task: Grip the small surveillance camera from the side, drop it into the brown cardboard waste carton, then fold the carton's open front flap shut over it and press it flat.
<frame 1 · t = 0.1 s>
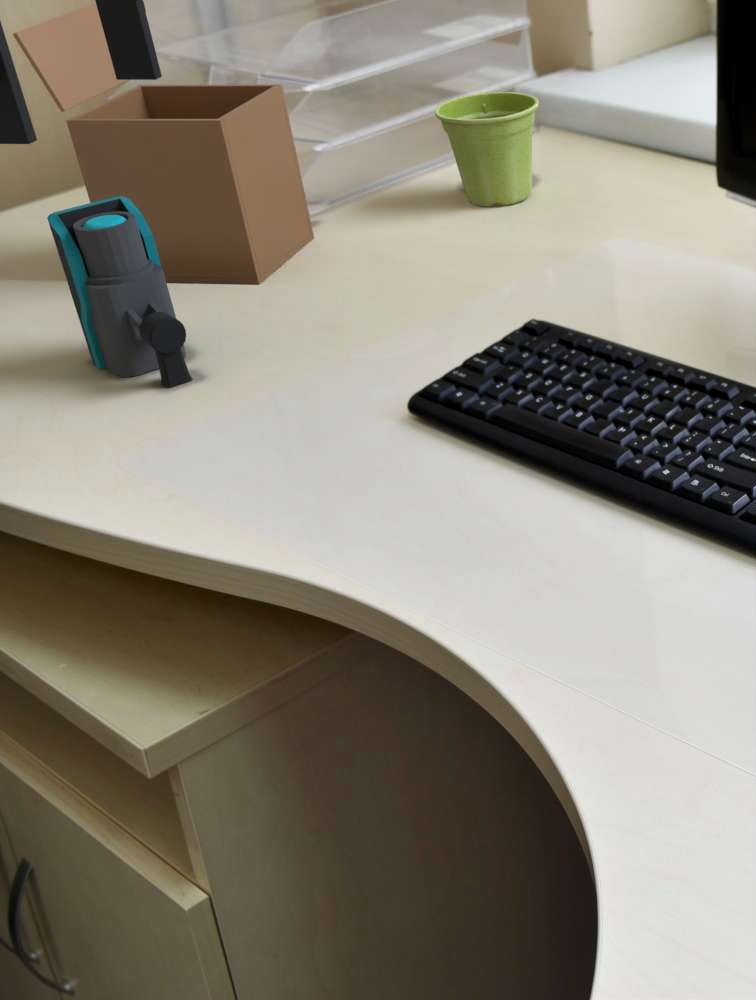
hand: (79, 108, 82), 21 cm above the table, tool pointing down, fingers open, 13 cm apart
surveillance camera: (162, 386, 97), on the table
waste carton: (217, 259, 118), on the table
plant pot: (499, 199, 130), on the table
flap: (78, 56, 111), point 17 cm above the table, hinge at 110.0°
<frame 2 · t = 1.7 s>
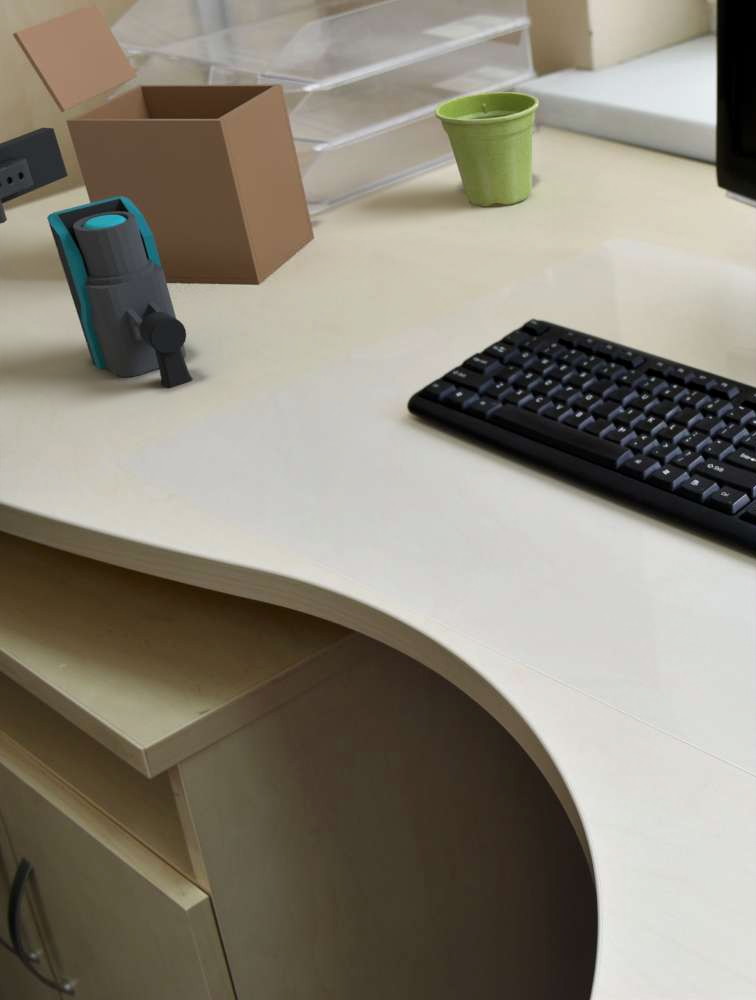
nothing on the table moved.
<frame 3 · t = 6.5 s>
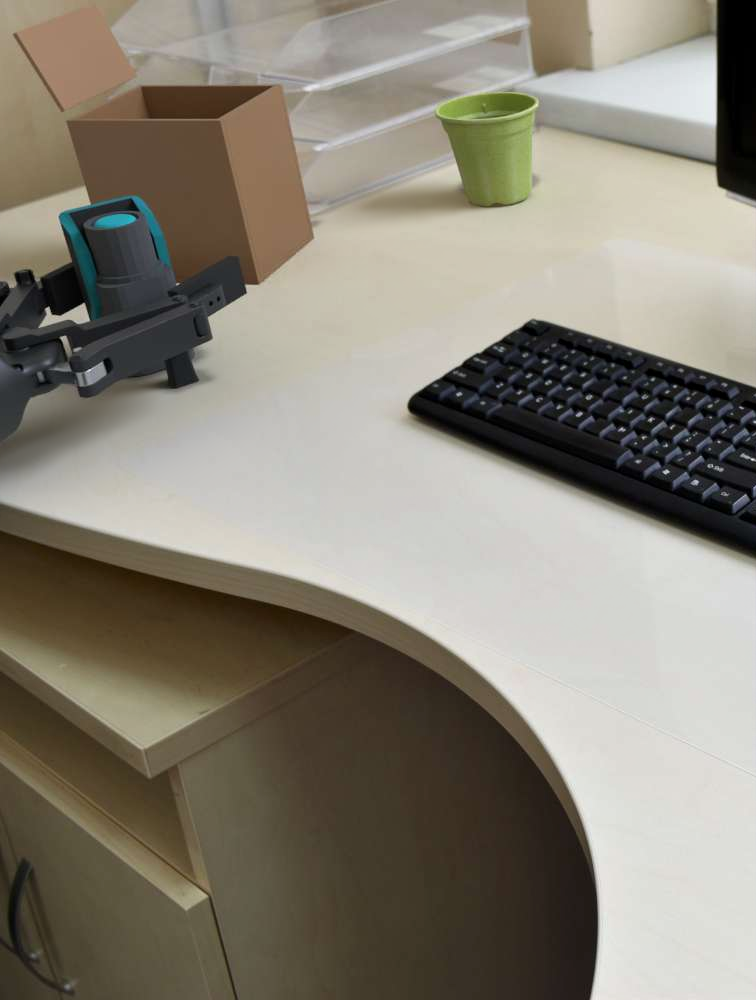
hand: (176, 268, 97), 7 cm above the table, tool horizontal, fingers closed on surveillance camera, 10 cm apart
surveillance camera: (170, 386, 97), on the table, touching gripper
everything else where it was.
when the fingers open (23 cm above the table, at t = 15.3 s): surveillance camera drops 15 cm, resting on waste carton.
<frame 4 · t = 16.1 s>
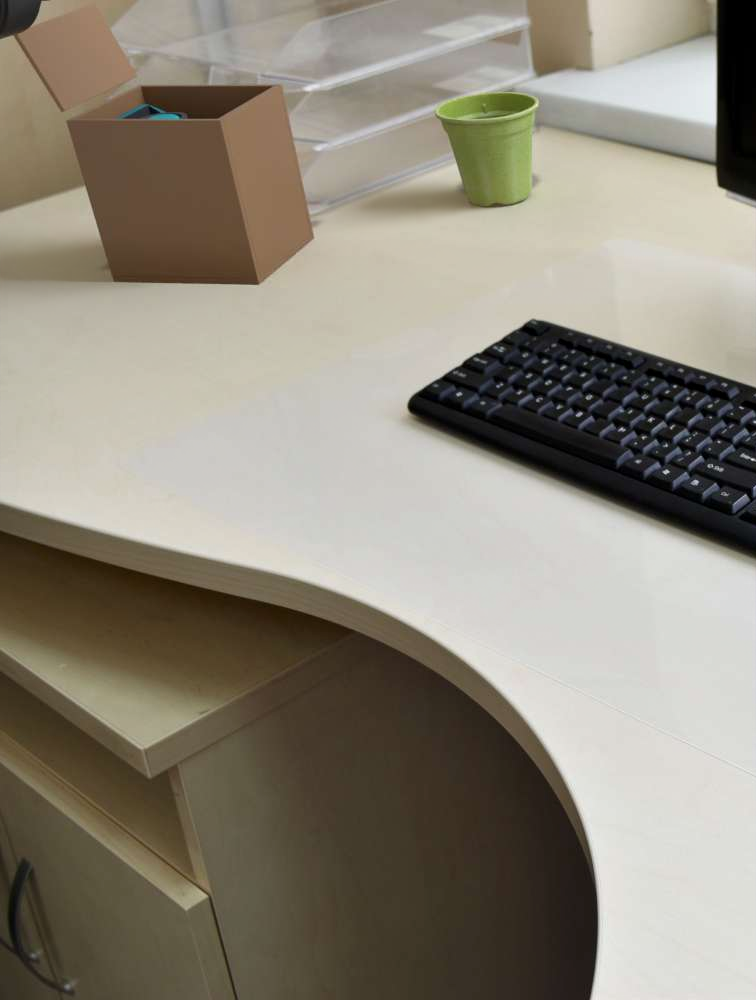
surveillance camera: (219, 253, 119), resting on waste carton
everything else where it was.
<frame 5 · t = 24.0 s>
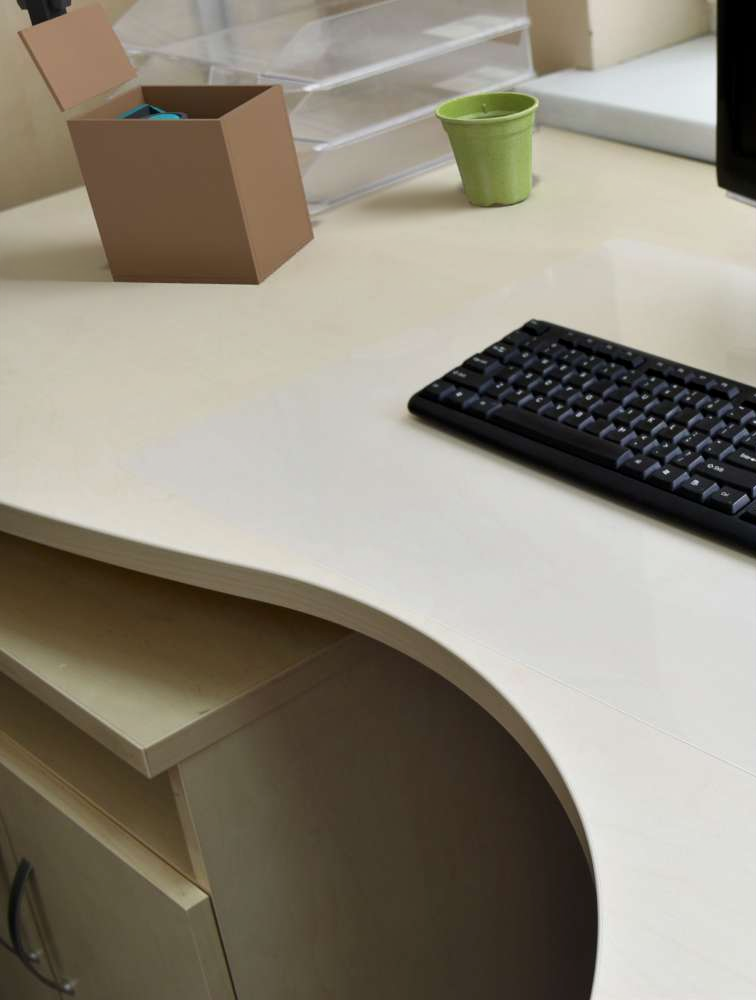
hand: (59, 50, 111), 18 cm above the table, tool pointing down, fingers closed
flap: (80, 55, 111), point 17 cm above the table, hinge at 105.9°, touching gripper
everything else where it was.
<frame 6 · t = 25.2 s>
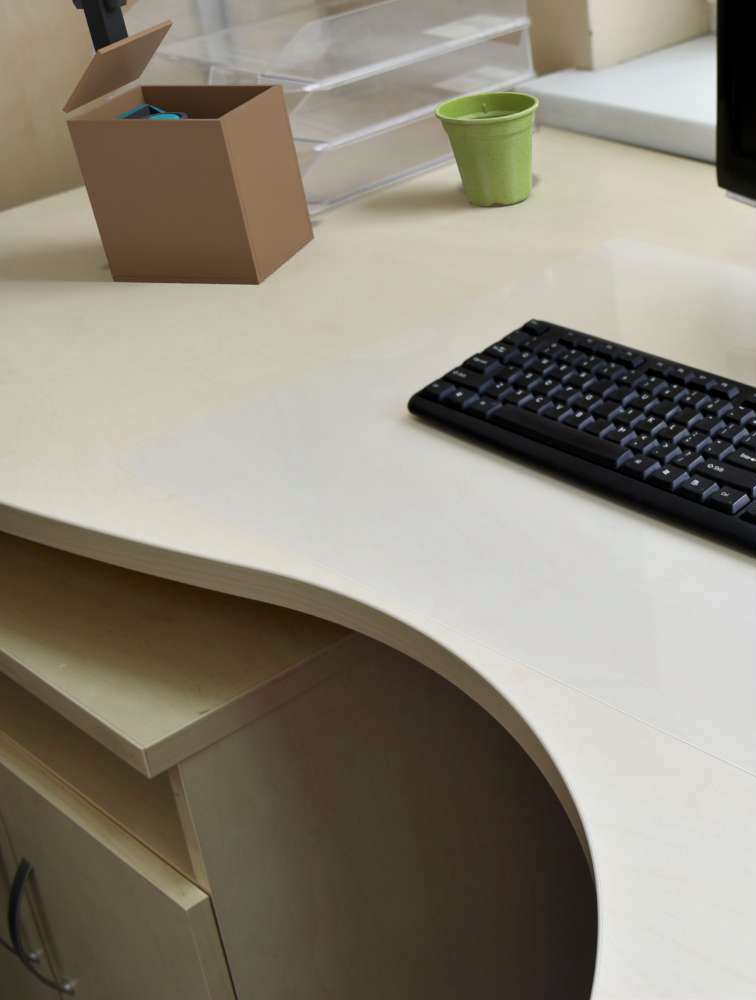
hand: (113, 50, 110), 18 cm above the table, tool pointing down, fingers closed
flap: (119, 65, 111), point 16 cm above the table, hinge at 45.8°
everything else where it was.
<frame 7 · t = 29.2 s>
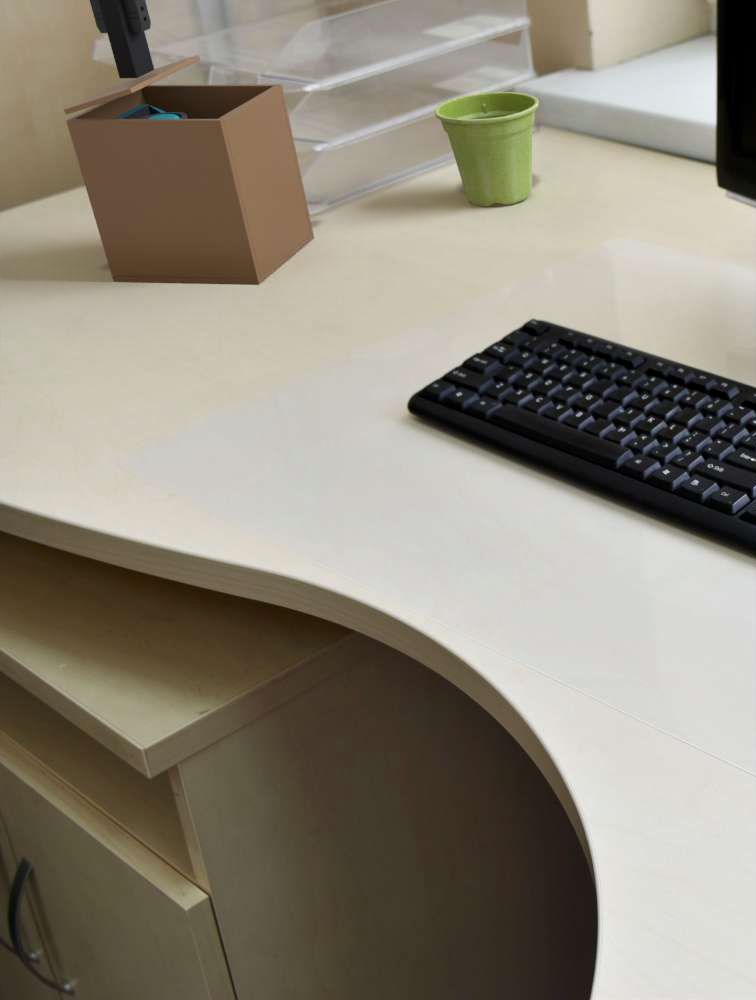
hand: (137, 73, 111), 16 cm above the table, tool pointing down, fingers closed
flap: (134, 83, 111), point 15 cm above the table, hinge at 15.0°, touching gripper
everything else where it was.
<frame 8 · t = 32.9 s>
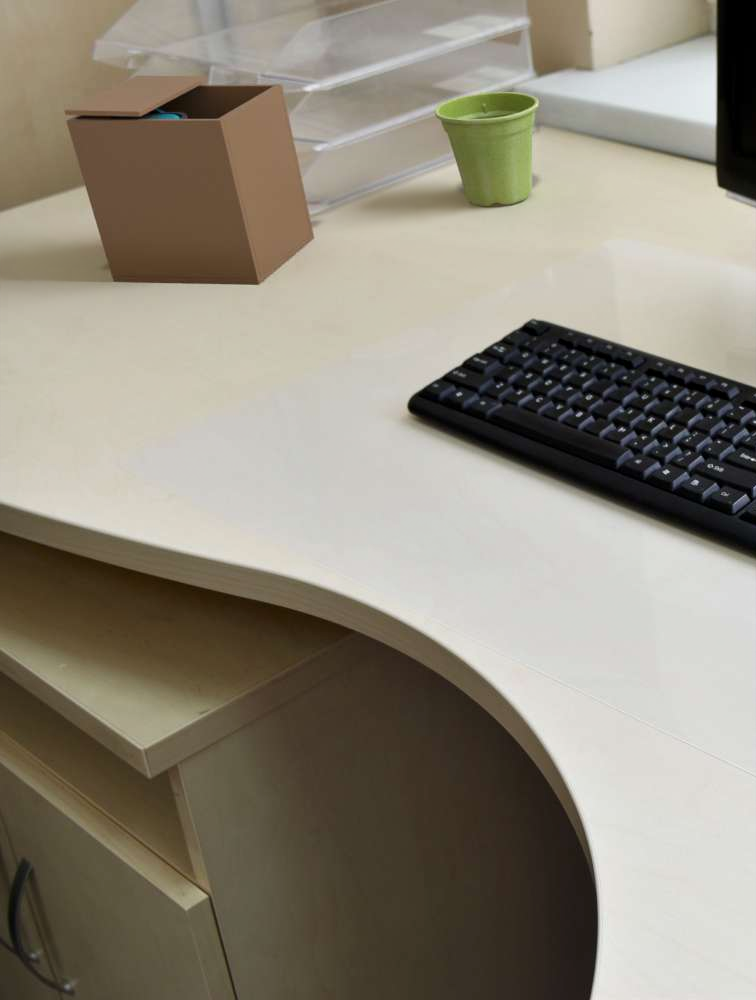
flap: (138, 95, 112), point 14 cm above the table, hinge at -1.1°
everything else where it was.
at the end: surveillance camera inside the target area in the waste carton (0.4 cm from its centre), point 0.3 cm above the waste carton's base; flap at -1° (first picture: +110°); the gripper is holding nothing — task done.
